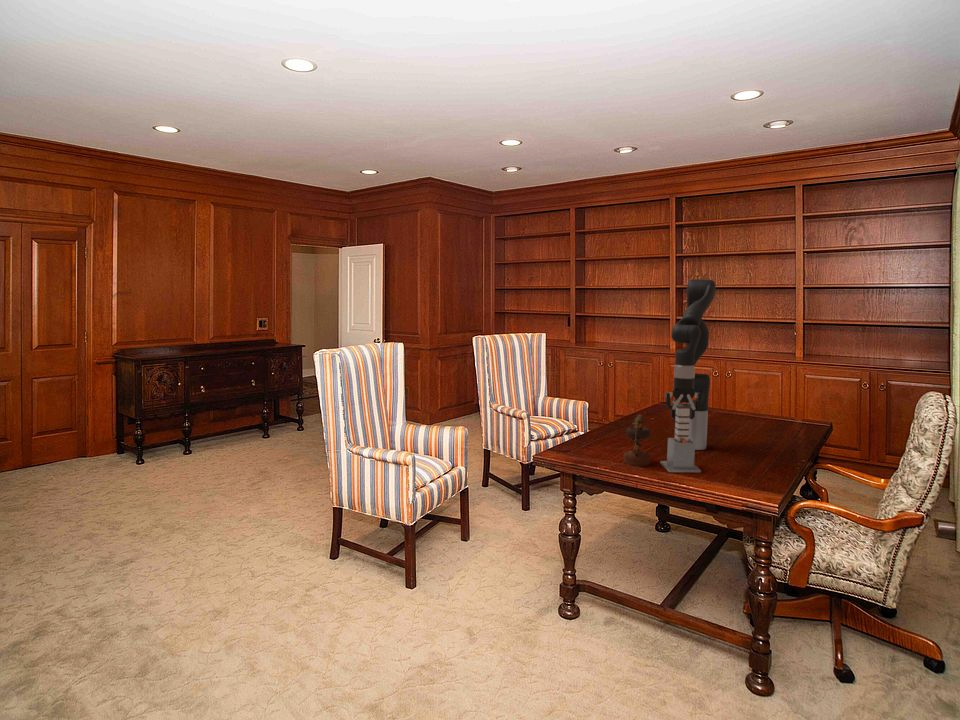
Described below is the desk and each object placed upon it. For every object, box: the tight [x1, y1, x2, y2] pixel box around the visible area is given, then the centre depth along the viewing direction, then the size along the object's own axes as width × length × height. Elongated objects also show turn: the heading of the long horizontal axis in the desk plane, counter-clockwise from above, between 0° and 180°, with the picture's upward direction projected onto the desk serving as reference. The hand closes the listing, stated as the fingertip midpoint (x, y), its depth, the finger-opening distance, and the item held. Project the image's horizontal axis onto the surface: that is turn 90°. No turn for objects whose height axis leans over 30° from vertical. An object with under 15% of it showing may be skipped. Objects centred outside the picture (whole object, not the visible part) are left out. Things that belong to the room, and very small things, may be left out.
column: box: [674, 403, 692, 442], centre depth 232 cm, size 5×5×19 cm
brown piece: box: [623, 414, 651, 467], centre depth 241 cm, size 15×11×20 cm
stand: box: [660, 437, 702, 474], centre depth 233 cm, size 12×12×12 cm
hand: (682, 418), depth 231 cm, fingers open, 6 cm apart
